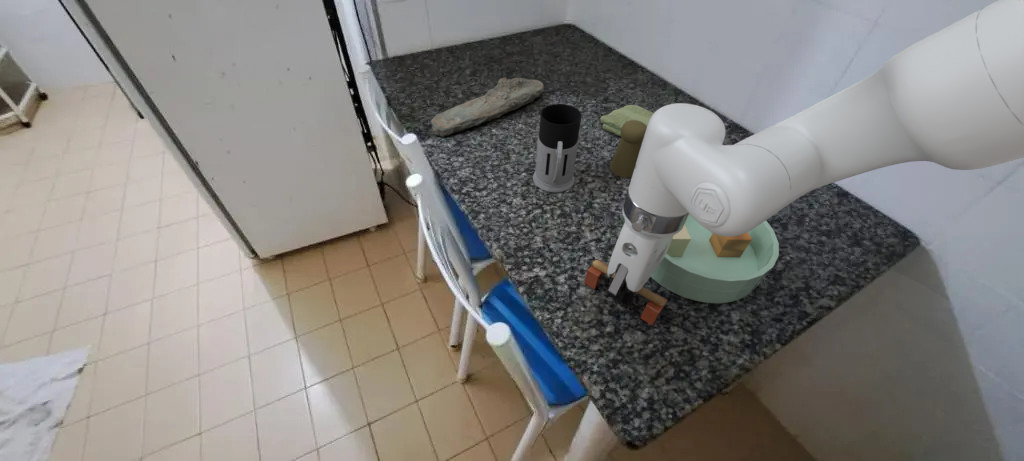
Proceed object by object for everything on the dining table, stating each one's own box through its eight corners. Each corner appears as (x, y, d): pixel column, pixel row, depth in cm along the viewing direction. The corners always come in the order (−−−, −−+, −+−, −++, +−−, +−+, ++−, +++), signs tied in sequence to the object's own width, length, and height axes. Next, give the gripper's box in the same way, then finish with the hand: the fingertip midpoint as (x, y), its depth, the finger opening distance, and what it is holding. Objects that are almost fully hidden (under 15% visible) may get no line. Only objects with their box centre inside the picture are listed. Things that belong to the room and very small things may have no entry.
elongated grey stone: (423, 130, 96) (446, 150, 91) (419, 112, 92) (443, 131, 87) (527, 81, 111) (552, 96, 106) (528, 64, 107) (553, 78, 102)
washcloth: (626, 109, 102) (629, 97, 100) (687, 136, 94) (692, 124, 91) (595, 127, 96) (597, 115, 94) (658, 158, 87) (662, 146, 85)
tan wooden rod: (665, 303, 57) (667, 299, 56) (661, 309, 56) (664, 304, 55) (594, 262, 62) (595, 257, 61) (590, 266, 61) (591, 261, 60)
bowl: (776, 246, 70) (794, 222, 65) (736, 328, 58) (754, 306, 54) (663, 194, 79) (672, 170, 75) (609, 256, 67) (616, 232, 63)
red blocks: (660, 312, 60) (667, 299, 57) (652, 325, 58) (658, 313, 56) (593, 272, 65) (597, 258, 62) (584, 283, 63) (587, 270, 61)
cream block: (675, 239, 69) (683, 221, 66) (682, 256, 67) (691, 239, 63) (652, 239, 69) (660, 221, 66) (658, 256, 66) (666, 238, 63)
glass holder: (574, 167, 85) (584, 103, 74) (575, 212, 75) (587, 146, 64) (533, 164, 85) (538, 100, 74) (530, 209, 75) (534, 143, 65)
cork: (608, 174, 83) (618, 129, 75) (611, 158, 87) (622, 113, 79) (636, 179, 82) (651, 134, 74) (639, 163, 86) (652, 118, 78)
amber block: (731, 240, 69) (742, 222, 66) (740, 257, 67) (752, 239, 63) (708, 239, 69) (718, 222, 66) (716, 257, 67) (727, 239, 63)
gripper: (655, 261, 42) (618, 344, 55) (710, 187, 50) (667, 274, 63) (594, 228, 45) (574, 313, 58) (656, 164, 53) (626, 252, 67)
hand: (623, 292), depth 61 cm, fingers closed
